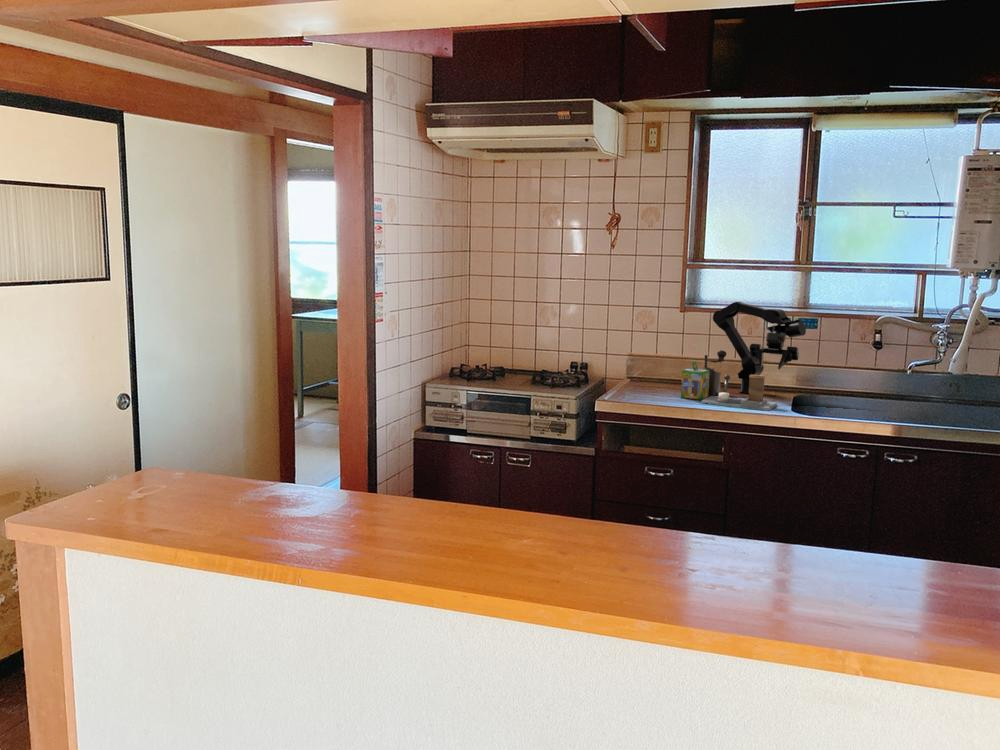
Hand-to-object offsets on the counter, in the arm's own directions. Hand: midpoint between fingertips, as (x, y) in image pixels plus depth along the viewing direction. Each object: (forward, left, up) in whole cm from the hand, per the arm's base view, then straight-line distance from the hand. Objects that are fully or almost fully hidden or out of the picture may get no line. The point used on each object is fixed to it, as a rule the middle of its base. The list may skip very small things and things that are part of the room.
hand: (769, 367), depth 341 cm
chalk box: (+9, -27, -14) cm, 32 cm away
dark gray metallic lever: (+11, -14, -10) cm, 21 cm away
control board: (+13, -8, -13) cm, 21 cm away
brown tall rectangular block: (+12, -2, -12) cm, 17 cm away
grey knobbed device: (-5, -26, -14) cm, 30 cm away
